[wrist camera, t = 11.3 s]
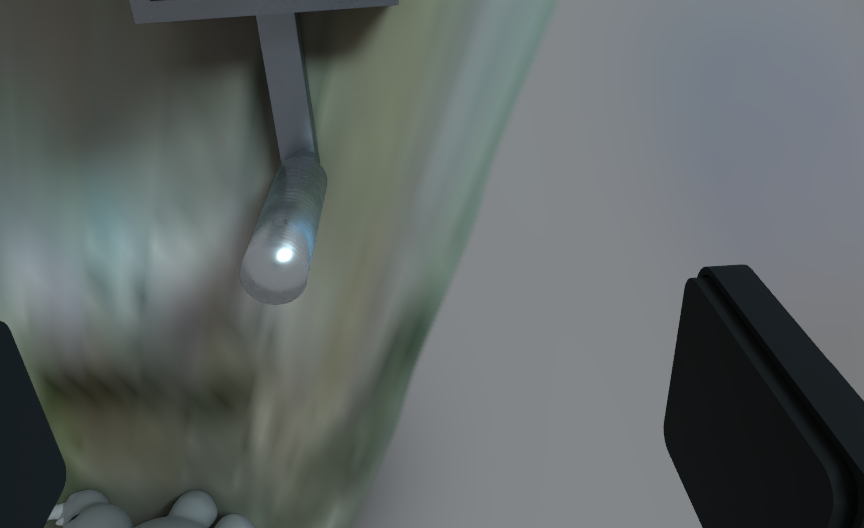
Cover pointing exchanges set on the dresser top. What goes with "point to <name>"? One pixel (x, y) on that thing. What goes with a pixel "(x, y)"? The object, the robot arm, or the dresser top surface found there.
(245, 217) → the dresser top surface
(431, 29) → the dresser top surface
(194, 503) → the round bodied animal figurine
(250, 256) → the gray frame with handle
